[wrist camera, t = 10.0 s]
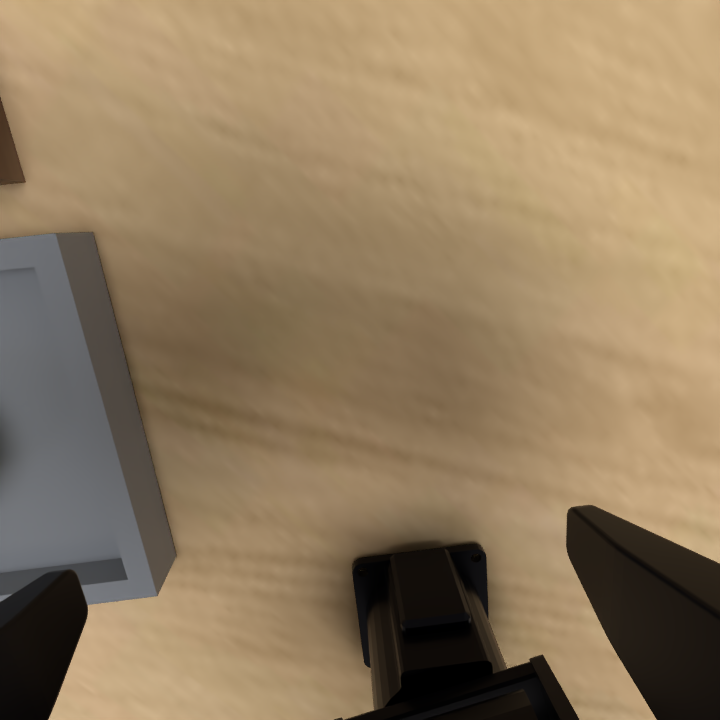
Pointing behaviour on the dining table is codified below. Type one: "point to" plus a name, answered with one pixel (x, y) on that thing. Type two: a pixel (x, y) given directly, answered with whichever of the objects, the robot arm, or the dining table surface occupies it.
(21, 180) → the walnut block
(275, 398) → the dining table surface
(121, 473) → the dish
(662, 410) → the dining table surface
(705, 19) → the dining table surface
